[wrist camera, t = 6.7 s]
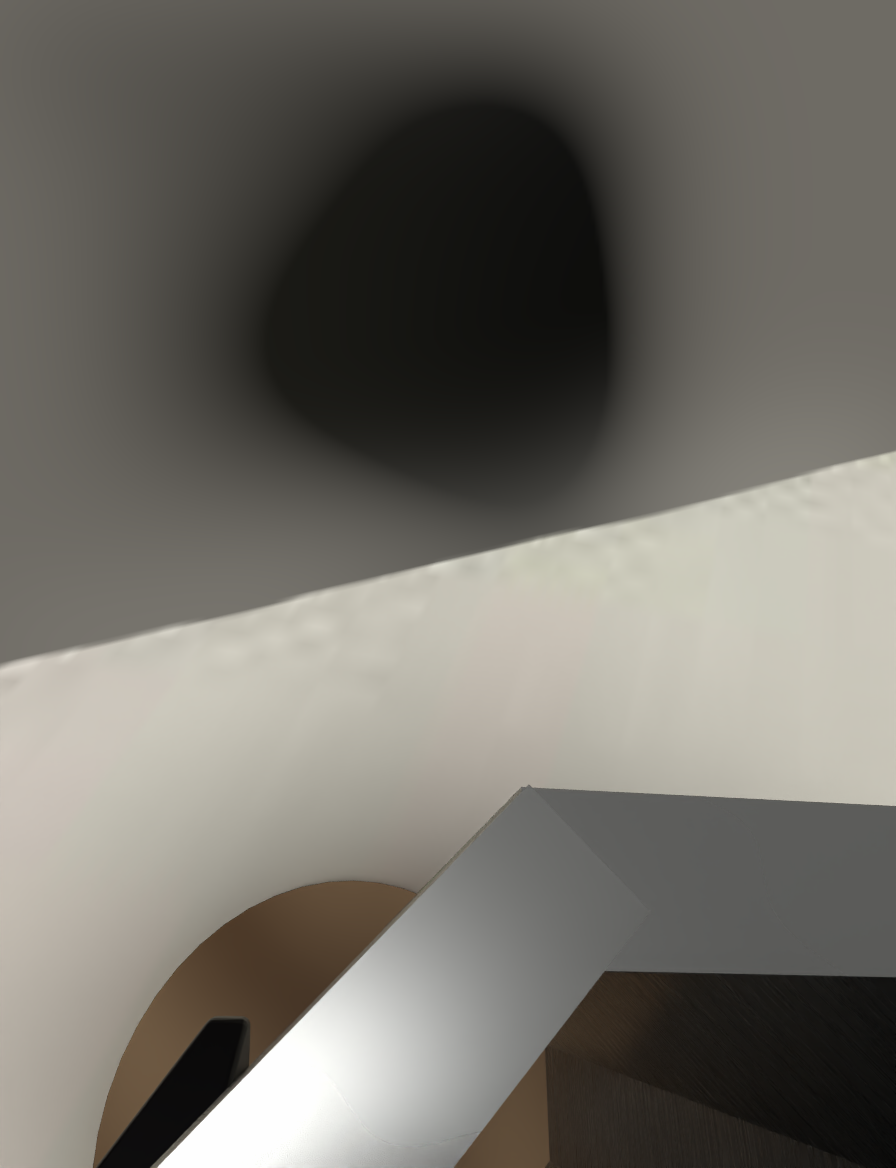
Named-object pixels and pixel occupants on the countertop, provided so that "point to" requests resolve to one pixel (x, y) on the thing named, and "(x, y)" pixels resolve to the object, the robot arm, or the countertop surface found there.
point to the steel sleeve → (605, 998)
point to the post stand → (294, 1006)
